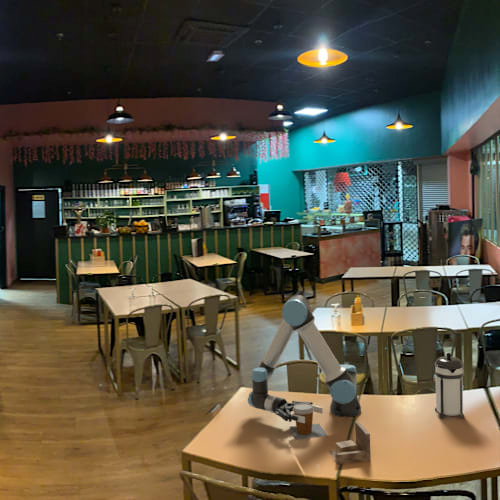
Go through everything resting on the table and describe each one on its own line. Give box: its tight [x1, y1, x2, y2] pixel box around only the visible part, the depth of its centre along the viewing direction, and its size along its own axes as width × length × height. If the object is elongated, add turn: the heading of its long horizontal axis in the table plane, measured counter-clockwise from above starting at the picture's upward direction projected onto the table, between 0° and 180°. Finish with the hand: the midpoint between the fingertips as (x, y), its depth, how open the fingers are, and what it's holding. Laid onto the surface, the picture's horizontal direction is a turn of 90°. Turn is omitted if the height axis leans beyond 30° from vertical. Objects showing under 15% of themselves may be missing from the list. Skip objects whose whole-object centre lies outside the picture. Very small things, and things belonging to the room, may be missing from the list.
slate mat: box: [289, 423, 328, 440], centre depth 249 cm, size 14×14×1 cm
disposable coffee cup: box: [292, 403, 314, 435], centre depth 247 cm, size 10×10×12 cm
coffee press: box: [434, 352, 465, 420], centre depth 262 cm, size 17×16×30 cm
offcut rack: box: [328, 421, 372, 465], centre depth 222 cm, size 14×13×12 cm
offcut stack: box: [334, 439, 358, 453], centre depth 222 cm, size 8×6×5 cm
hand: (313, 415), depth 246 cm, fingers open, 13 cm apart
